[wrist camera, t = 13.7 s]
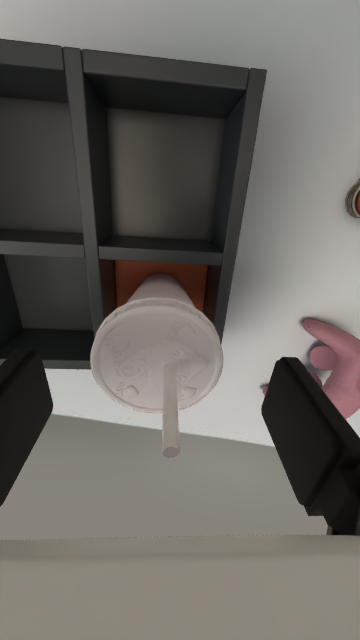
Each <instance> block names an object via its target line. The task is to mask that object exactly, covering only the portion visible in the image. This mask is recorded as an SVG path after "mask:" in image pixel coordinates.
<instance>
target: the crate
mask: <svg viewBox="0 0 360 640" xmlns="http://www.w3.org/2000/svg"><path fill="white" fill-rule="evenodd" d="M266 73H267V70H265V69H256V68H250V69H249V68H244V67H236V66H227V65H219V64H210V63H201V62H193V61H184V60H175V59H167V58H158V57H150V56H141V55H132V54H124V53H115V52H106V51H98V50H89V49H82V50H81V49H80V48H72V47H63V48H62V46H58V45H49V44H41V43H32V42H23V41H15V40H6V39H0V365H1V364H2V363H3V362H4V361H5V360H6V359H7V358H8V357H9V356H10V355H11V354H12V353H13V352H14V351H15V350H16V349H33V350H35V351H36V352H37V353H39V354H40V355H41V357H42V361H43V365H44V368H48V369H91V364H90V354H91V349H92V345H93V342H94V340H95V337H96V333H97V331H98V329H99V328H100V326H101V324H102V323H103V321H104V319H105V318H106V317H108V316H109V315H110V314H111V313H112V312H113V311H114V310H116V309H117V308H118V307H120V306H122V305H125V304H126V303H127V302H128V300H129V299H130V298H131V296H132V295H133V294H134V293H135V291H136V290H137V289H138V288H139V286H140V285H141V284H142V283H143V281H144V280H145V279H146V278H147V277H149V276H151V275H153V274H156V273H166V274H170V275H172V276H174V277H175V278H176V279H177V280H178V281H179V282H180V283H181V285H182V286H183V288H184V290H185V291H186V293H187V295H188V296H189V298H190V299H191V301H192V303H193V304H194V306H195V308H196V309H198V310H199V311H201V312H202V313H203V314H204V315H205V316H206V317H207V318H208V319H209V320H210V321H211V323H212V324H213V325H214V327H215V329H216V332H217V334H218V336H219V338H220V344H221V343H222V337H223V331H224V325H225V319H226V313H227V307H228V301H229V295H230V289H231V283H232V277H233V271H234V265H235V259H236V253H237V247H238V241H239V235H240V229H241V223H242V217H243V211H244V205H245V199H246V193H247V187H248V181H249V175H250V169H251V163H252V157H253V151H254V145H255V139H256V133H257V127H258V121H259V115H260V109H261V103H262V97H263V91H264V85H265V79H266Z"/></svg>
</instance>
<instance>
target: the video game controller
mask: <svg viewBox="0 0 360 640" xmlns="http://www.w3.org/2000/svg"><path fill="white" fill-rule="evenodd" d="M303 326H304V328H305V330H306V331H307V332H309V333H310V334H311V335H312V336H314V337H315V338H317V339H319V340H320V341H322V342H324V343H325V344H327V345H328V346H317V347H315V348H313V349H312V351H311V353H310V361H311V363H312V364H313V365H314V366H315V367H316V368H318V369H321V370H333V371H332V373H331V375H330V376H329V378H328V379H327V381H326V382H325V384H324V385H323V386H322V382H321V380H320V378H319V377H318V376H317V375H316V374H315V373H314V372H311V371H308V372H309V373H310V374H311V376H312V377H313V378H314V380H315V381H316V382H317V383H318V385H319V386H320V387H321V389H322V390H323V391H324V392H325V394H326V395H327V396H328V398H329V399H330V400H331V401H332V403H333V404H334V405H335V407H336V408H337V409H338V411H339V412H340V413H341V414H342V416H343V417H344V418H345V419H347V418H348V417H350V416H351V415H352V414H354V413H355V412H356V411H357V410H358V409H359V408H360V340H359V339H357V338H356V337H354V336H353V335H351V334H349V333H347V332H345V331H343V330H341V329H338V328H336V327H334V326H331V325H329V324H326V323H324V322H320V321H317V320H313V319H307V320H305V321H303ZM267 389H268V386H265V387H264V388H263V394H264V395H266V392H267Z"/></svg>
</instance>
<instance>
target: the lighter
mask: <svg viewBox="0 0 360 640" xmlns="http://www.w3.org/2000/svg"><path fill="white" fill-rule="evenodd" d="M346 209H347V212H348V213H349V214H350V215H351V216H353V217H355V218H360V179H359V181H358V182H357V183H356V184H355V185H354V186H353V187H352V188H351V190H350V191H349V192H348V195H347V198H346Z"/></svg>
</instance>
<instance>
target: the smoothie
mask: <svg viewBox="0 0 360 640" xmlns="http://www.w3.org/2000/svg"><path fill="white" fill-rule="evenodd" d="M90 364H91V370H92V373H93V376H94V378H95V380H96V382H97V384H98V385H99V387H100V388H101V389H102V390H103V392H104V393H105V394H106V395H108V396H109V397H110V398H111V399H112V400H114V401H115V402H117V403H119V404H120V405H122V406H125V407H127V408H129V409H132V410H136V411H139V412H145V413H163V432H162V454H163V456H165V457H167V458H174V457H177V456H178V455H179V453H180V446H179V427H178V410H182V409H185V408H187V407H190V406H192V405H194V404H195V403H197V402H199V401H200V400H201V399H203V398H204V397H205V396H206V395H207V394H209V392H210V391H211V390H212V389H213V388H214V386H215V385H216V383H217V382H218V380H219V378H220V375H221V372H222V368H223V352H222V348H221V344H220V338H219V336H218V334H217V332H216V329H215V327H214V325H213V324H212V323H211V321H210V320H209V319H208V318H207V317H206V316H205V315H204V314H203V313H202V312H201V311H199V310H198V309H196V308H195V306H194V304H193V303H192V301H191V299H190V298H189V296H188V295H187V293H186V291H185V290H184V288H183V286H182V285H181V283H180V282H179V281H178V280H177V279H176V278H175V277H174V276H172V275H170V274H166V273H156V274H153V275H151V276H149V277H147V278H146V279H145V280H144V281H143V283H142V284H141V285H140V286H139V288H138V289H137V290H136V291H135V293H134V294H133V295H132V296H131V298H130V299H129V300H128V302H127V303H126V304H125V305H122V306H120V307H118V308H117V309H116V310H114V311H113V312H112V313H111V314H110V315H109V316H108V317H106V318H105V319H104V321H103V323H102V324H101V326H100V328H99V329H98V331H97V333H96V337H95V340H94V342H93V345H92V349H91V354H90Z"/></svg>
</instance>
